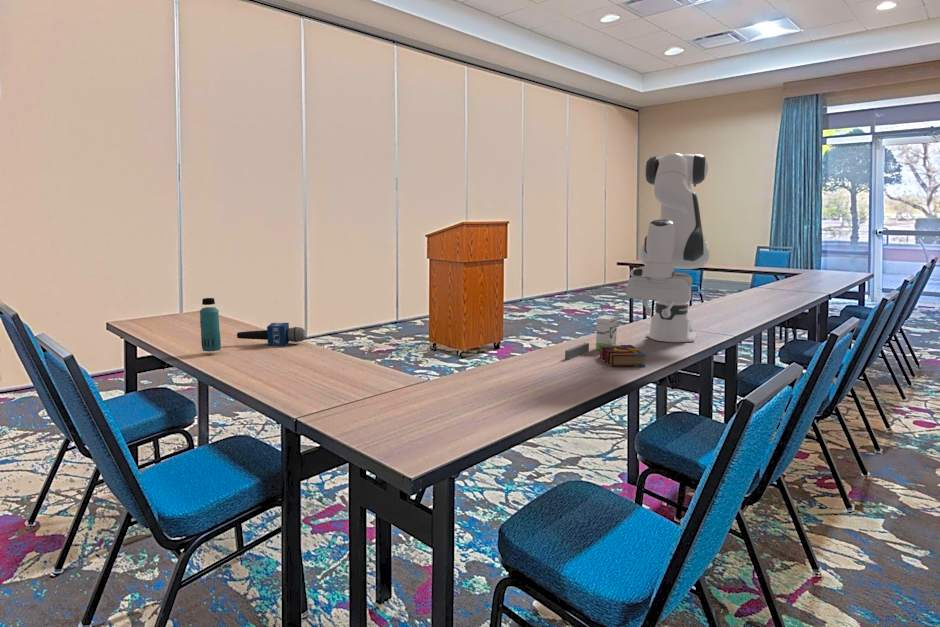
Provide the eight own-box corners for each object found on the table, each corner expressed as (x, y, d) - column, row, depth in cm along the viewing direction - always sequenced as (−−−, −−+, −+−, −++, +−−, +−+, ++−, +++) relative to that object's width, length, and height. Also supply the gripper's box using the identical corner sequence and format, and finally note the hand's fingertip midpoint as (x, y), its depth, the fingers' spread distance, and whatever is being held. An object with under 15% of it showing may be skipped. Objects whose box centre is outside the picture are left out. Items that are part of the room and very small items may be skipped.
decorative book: (611, 368, 203) (611, 353, 202) (598, 357, 219) (598, 342, 218) (645, 367, 204) (646, 352, 203) (630, 356, 220) (630, 342, 219)
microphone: (240, 323, 241) (306, 322, 242) (241, 343, 242) (307, 342, 244) (234, 326, 233) (302, 326, 235) (235, 347, 234) (303, 346, 236)
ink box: (608, 351, 227) (609, 319, 225) (595, 349, 230) (596, 317, 228) (616, 346, 234) (617, 315, 232) (603, 345, 237) (604, 314, 235)
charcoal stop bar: (584, 350, 228) (585, 342, 227) (588, 351, 227) (589, 343, 226) (565, 359, 215) (565, 350, 214) (568, 359, 214) (569, 351, 213)
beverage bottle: (218, 351, 228) (215, 296, 224) (224, 354, 222) (220, 298, 219) (199, 353, 224) (195, 297, 220) (204, 356, 218) (201, 299, 215)
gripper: (695, 272, 197) (693, 315, 199) (632, 269, 208) (630, 310, 210) (689, 273, 192) (687, 318, 194) (625, 270, 203) (623, 312, 205)
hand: (657, 314), depth 202 cm, fingers open, 4 cm apart
